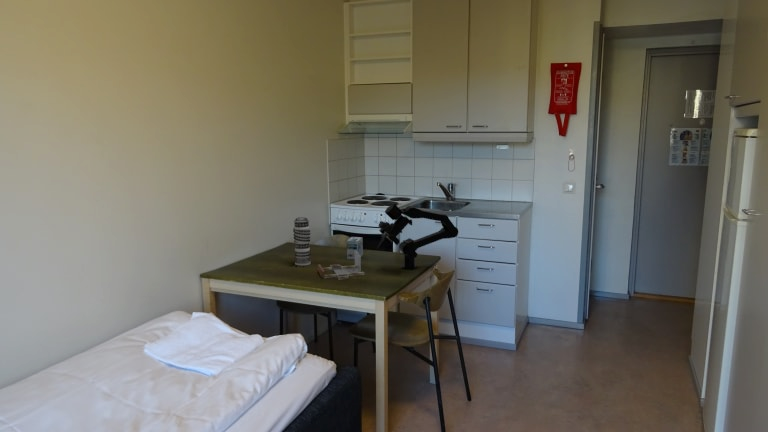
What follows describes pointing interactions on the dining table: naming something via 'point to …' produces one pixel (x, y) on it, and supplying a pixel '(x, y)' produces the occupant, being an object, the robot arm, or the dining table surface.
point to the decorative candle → (302, 241)
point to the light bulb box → (354, 247)
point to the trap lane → (337, 267)
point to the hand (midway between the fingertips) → (378, 248)
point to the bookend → (353, 270)
